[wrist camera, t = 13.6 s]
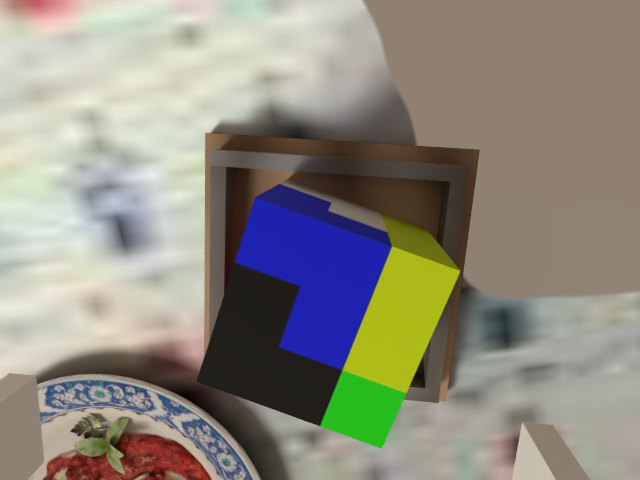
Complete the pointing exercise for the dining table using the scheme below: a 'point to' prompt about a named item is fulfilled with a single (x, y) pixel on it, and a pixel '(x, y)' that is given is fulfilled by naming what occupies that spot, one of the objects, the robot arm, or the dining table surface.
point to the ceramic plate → (131, 434)
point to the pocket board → (351, 185)
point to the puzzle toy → (327, 311)
